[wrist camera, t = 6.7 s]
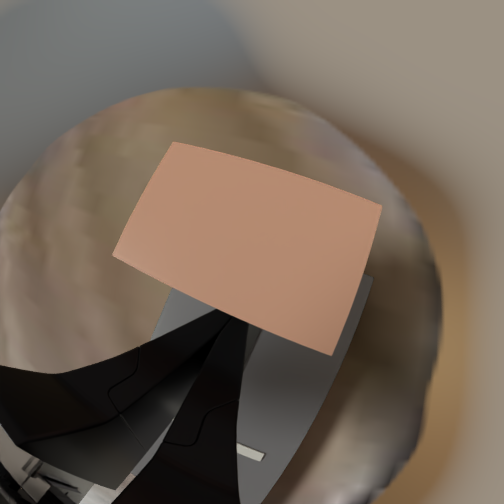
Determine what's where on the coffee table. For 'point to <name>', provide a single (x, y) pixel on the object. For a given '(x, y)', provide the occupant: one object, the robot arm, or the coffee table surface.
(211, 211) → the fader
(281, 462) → the plate
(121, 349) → the coffee table surface
